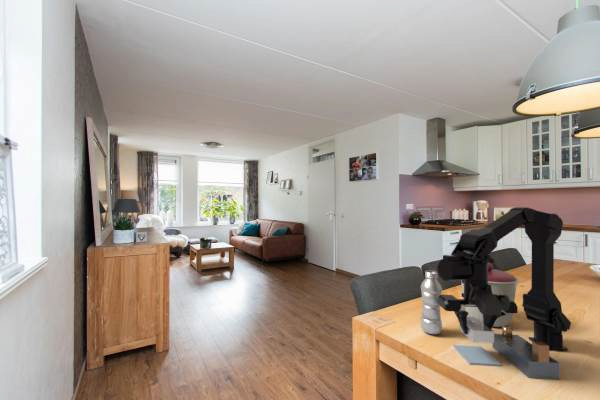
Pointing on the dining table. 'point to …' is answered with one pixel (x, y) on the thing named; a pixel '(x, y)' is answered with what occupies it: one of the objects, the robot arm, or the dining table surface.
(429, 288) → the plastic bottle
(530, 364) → the body
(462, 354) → the rubber pad
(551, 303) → the robot arm
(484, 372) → the dining table surface
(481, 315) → the canister
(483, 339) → the lever cap
